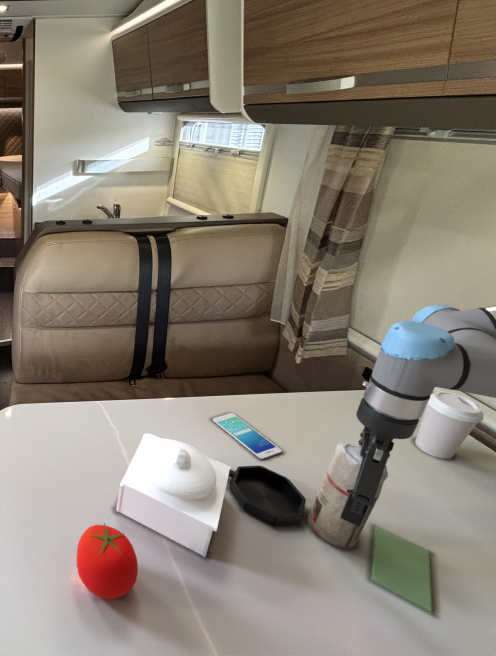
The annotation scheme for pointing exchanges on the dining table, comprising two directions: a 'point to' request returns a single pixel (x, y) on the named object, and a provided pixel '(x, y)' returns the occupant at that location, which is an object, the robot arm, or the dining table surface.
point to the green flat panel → (402, 569)
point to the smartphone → (247, 436)
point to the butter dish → (174, 491)
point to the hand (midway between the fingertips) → (353, 496)
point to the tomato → (106, 562)
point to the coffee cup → (447, 423)
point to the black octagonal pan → (267, 495)
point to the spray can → (339, 499)
